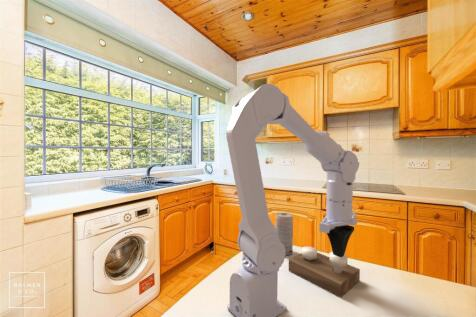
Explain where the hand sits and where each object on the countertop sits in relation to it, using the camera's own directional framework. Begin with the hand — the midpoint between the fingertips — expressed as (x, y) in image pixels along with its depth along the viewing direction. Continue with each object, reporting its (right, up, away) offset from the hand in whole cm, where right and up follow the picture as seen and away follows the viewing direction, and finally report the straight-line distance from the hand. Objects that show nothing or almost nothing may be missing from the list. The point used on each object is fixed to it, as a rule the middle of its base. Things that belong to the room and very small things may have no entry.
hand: (338, 255), depth 52 cm
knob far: (-5, -7, +6) cm, 11 cm away
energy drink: (-10, -7, +17) cm, 20 cm away
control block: (-3, -7, +3) cm, 8 cm away
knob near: (0, -6, 0) cm, 6 cm away
